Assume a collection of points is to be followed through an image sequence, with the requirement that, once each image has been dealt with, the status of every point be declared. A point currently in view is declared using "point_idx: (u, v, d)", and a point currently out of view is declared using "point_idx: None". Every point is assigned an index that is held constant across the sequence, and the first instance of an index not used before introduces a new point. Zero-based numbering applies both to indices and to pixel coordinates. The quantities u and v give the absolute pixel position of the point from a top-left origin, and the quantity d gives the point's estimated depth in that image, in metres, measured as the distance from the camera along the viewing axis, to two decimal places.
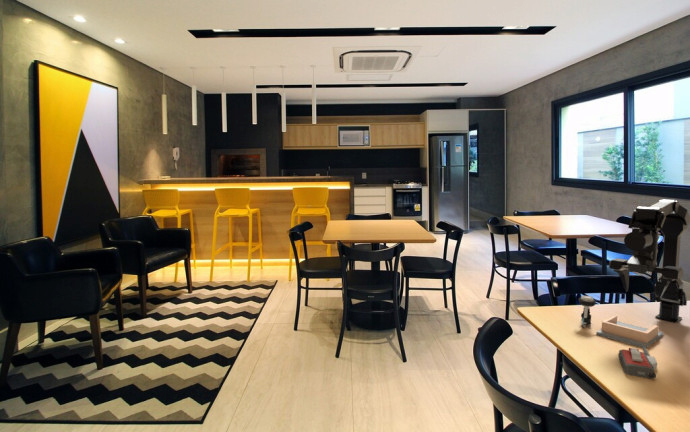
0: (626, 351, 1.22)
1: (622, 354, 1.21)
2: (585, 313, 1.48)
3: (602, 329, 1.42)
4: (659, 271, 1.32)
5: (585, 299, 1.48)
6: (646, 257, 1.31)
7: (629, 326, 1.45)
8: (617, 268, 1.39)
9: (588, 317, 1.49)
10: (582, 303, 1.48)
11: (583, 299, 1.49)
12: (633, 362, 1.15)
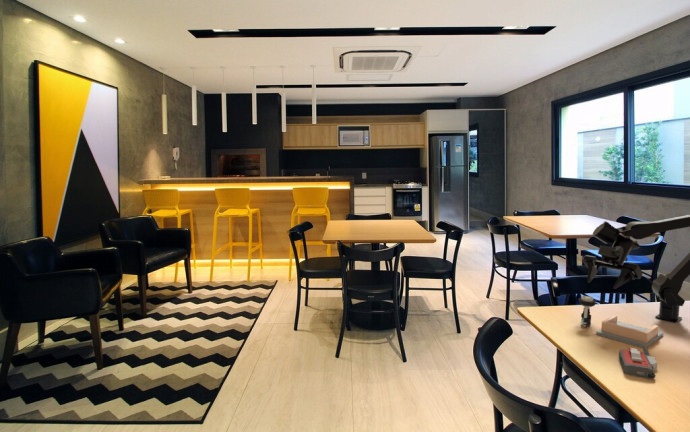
0: (626, 351, 1.22)
1: (622, 354, 1.21)
2: (585, 313, 1.48)
3: (602, 329, 1.42)
4: (622, 268, 1.50)
5: (585, 299, 1.48)
6: None
7: (629, 326, 1.45)
8: (589, 259, 1.58)
9: (588, 317, 1.49)
10: (582, 303, 1.48)
11: (583, 299, 1.49)
12: (632, 362, 1.15)
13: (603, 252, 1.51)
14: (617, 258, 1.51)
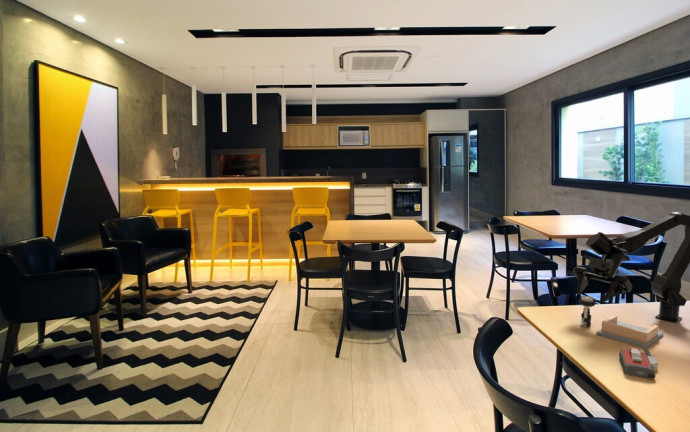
0: (627, 351, 1.22)
1: (622, 354, 1.21)
2: (585, 313, 1.48)
3: (602, 329, 1.42)
4: (612, 280, 1.48)
5: (585, 299, 1.48)
6: None
7: (629, 326, 1.45)
8: (579, 271, 1.56)
9: (588, 317, 1.49)
10: (582, 303, 1.48)
11: (583, 299, 1.49)
12: (633, 362, 1.15)
13: (593, 264, 1.49)
14: (607, 270, 1.49)
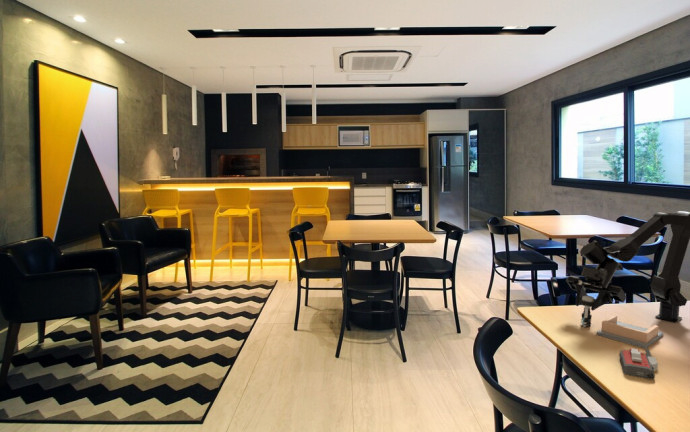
0: (627, 351, 1.22)
1: (622, 354, 1.21)
2: (585, 313, 1.48)
3: (602, 329, 1.42)
4: (606, 290, 1.47)
5: (586, 299, 1.48)
6: None
7: (629, 326, 1.45)
8: (572, 280, 1.55)
9: (588, 317, 1.48)
10: (583, 303, 1.48)
11: (584, 299, 1.48)
12: (632, 362, 1.15)
13: (586, 274, 1.47)
14: (601, 280, 1.47)
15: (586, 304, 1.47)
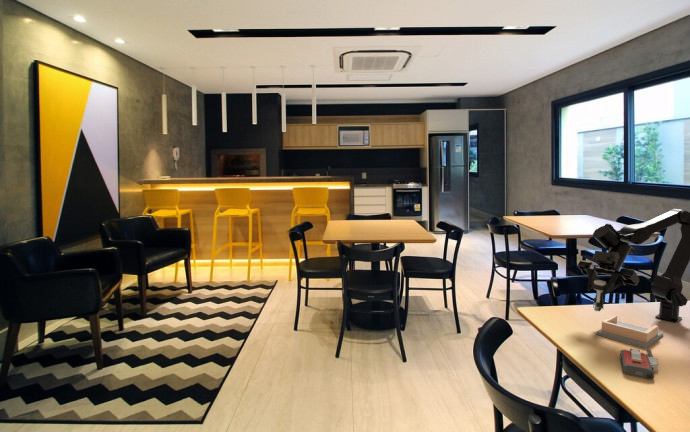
0: (627, 352, 1.22)
1: (623, 354, 1.21)
2: (598, 297, 1.45)
3: (602, 329, 1.42)
4: (618, 274, 1.44)
5: (598, 283, 1.45)
6: None
7: (629, 326, 1.45)
8: (584, 265, 1.52)
9: (601, 301, 1.46)
10: (595, 287, 1.45)
11: (596, 283, 1.46)
12: (632, 362, 1.15)
13: (598, 258, 1.45)
14: (613, 264, 1.44)
15: (598, 288, 1.44)
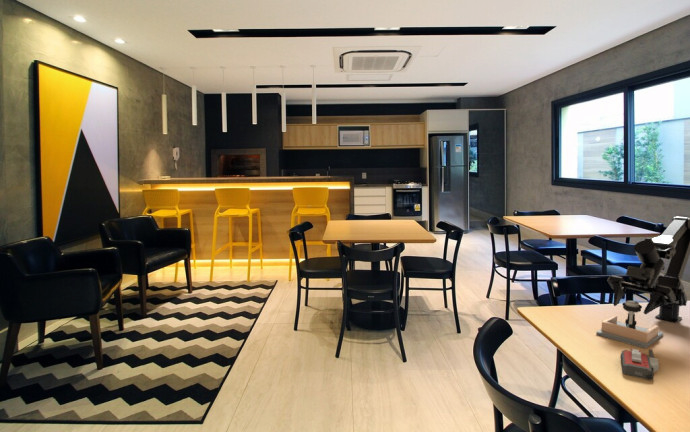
0: (628, 352, 1.22)
1: (623, 354, 1.21)
2: (630, 319, 1.39)
3: (602, 329, 1.42)
4: (653, 291, 1.37)
5: (630, 304, 1.39)
6: None
7: None
8: (615, 280, 1.45)
9: (633, 323, 1.40)
10: (627, 308, 1.39)
11: (628, 304, 1.40)
12: (631, 362, 1.15)
13: (632, 273, 1.38)
14: (647, 280, 1.38)
15: (631, 309, 1.38)
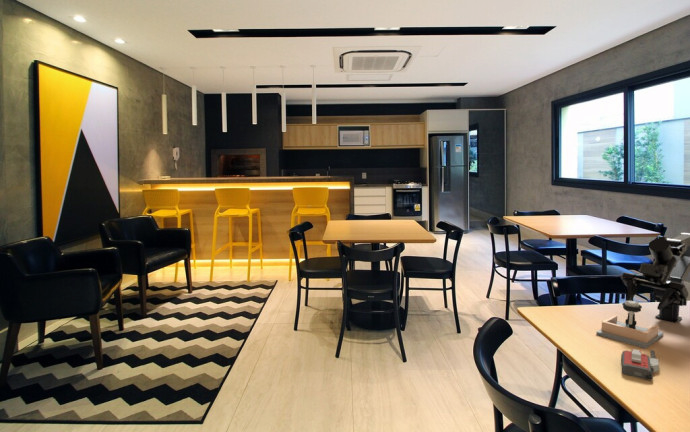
0: (628, 352, 1.21)
1: (623, 355, 1.21)
2: (630, 319, 1.39)
3: (602, 329, 1.42)
4: (666, 287, 1.42)
5: (630, 304, 1.39)
6: None
7: None
8: (628, 277, 1.50)
9: (633, 323, 1.40)
10: (627, 308, 1.39)
11: (628, 304, 1.40)
12: (631, 363, 1.15)
13: (645, 270, 1.42)
14: (660, 277, 1.42)
15: (631, 309, 1.38)
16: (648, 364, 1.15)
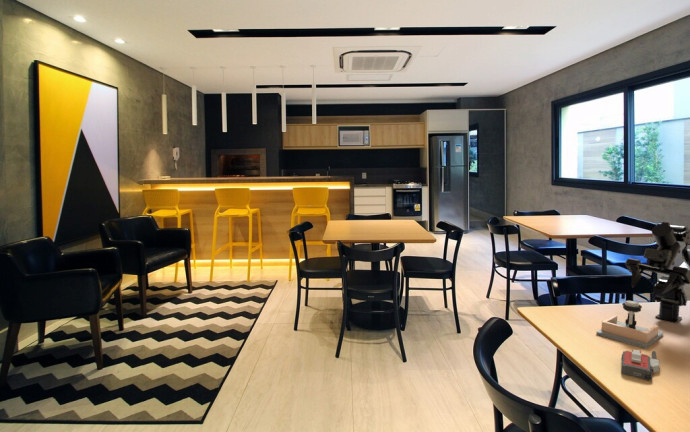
0: (629, 352, 1.21)
1: (623, 355, 1.21)
2: (630, 319, 1.39)
3: (602, 329, 1.42)
4: (670, 272, 1.43)
5: (630, 304, 1.39)
6: None
7: None
8: (632, 263, 1.51)
9: (633, 323, 1.40)
10: (627, 308, 1.39)
11: (628, 304, 1.40)
12: (631, 363, 1.15)
13: (650, 255, 1.44)
14: (664, 262, 1.44)
15: (631, 309, 1.38)
16: (648, 364, 1.15)
